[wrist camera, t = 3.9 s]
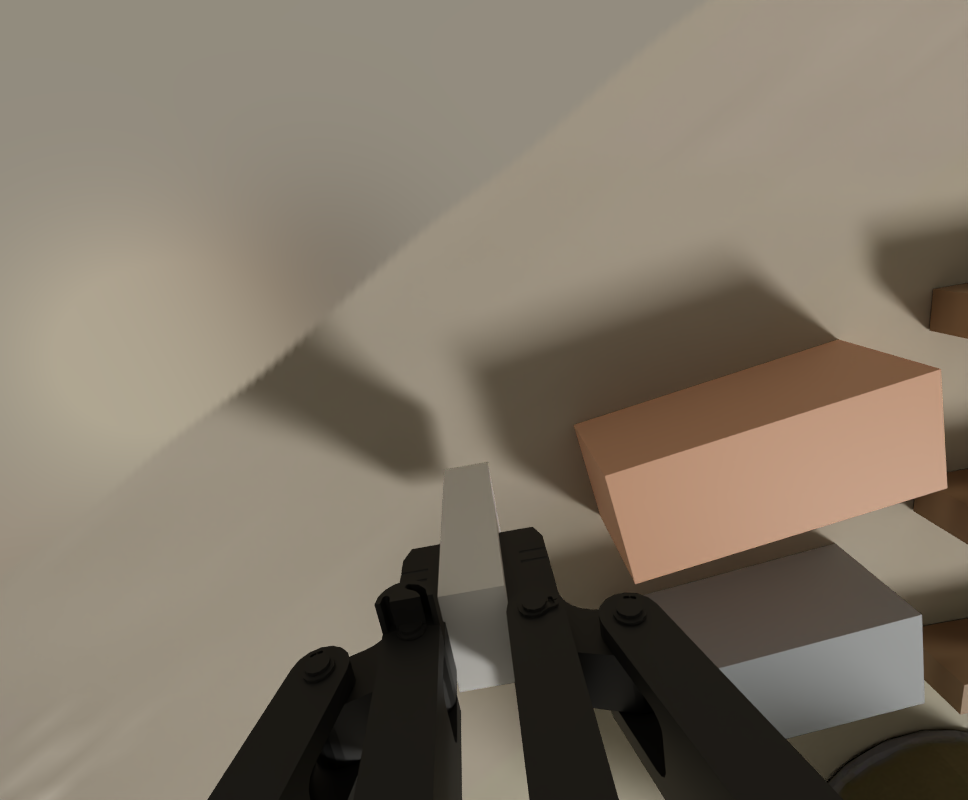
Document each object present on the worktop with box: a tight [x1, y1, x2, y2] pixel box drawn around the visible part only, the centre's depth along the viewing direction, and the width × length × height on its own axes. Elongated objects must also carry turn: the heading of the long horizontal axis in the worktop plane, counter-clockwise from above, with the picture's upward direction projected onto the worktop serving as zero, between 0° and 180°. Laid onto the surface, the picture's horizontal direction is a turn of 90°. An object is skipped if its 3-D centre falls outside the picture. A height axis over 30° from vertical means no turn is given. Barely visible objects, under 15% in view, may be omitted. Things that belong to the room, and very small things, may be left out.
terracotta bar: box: [574, 340, 947, 584], centre depth 18 cm, size 10×4×4 cm, turn 108°
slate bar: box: [643, 544, 925, 739], centre depth 21 cm, size 10×4×4 cm, turn 106°
